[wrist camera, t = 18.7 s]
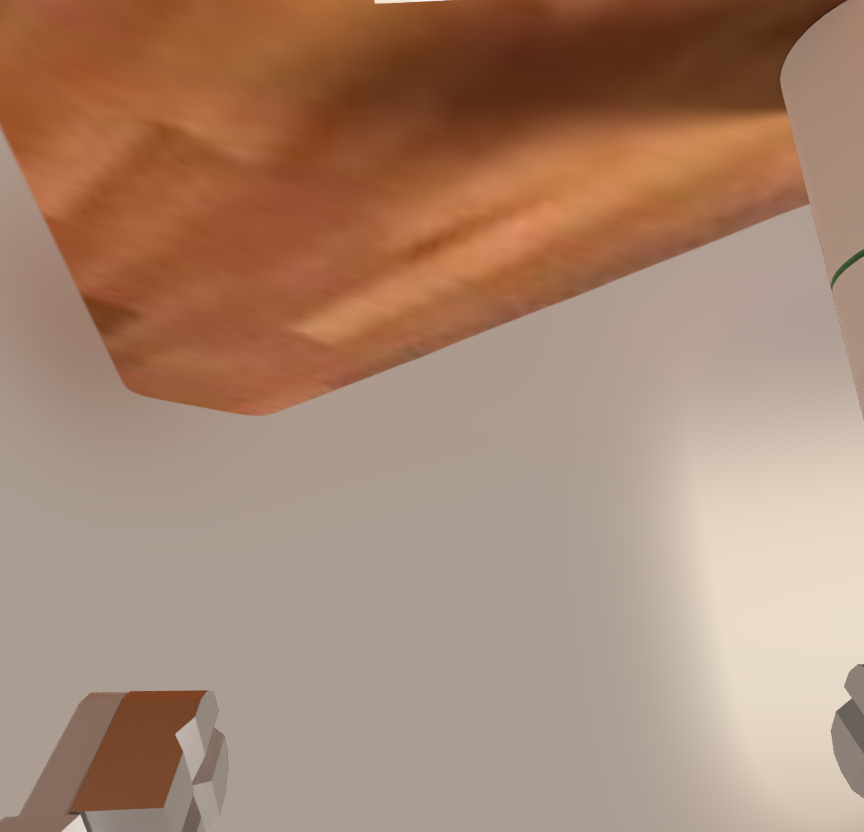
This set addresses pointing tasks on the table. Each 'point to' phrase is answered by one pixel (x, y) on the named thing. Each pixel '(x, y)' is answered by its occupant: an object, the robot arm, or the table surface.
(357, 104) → the table surface
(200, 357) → the table surface
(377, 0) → the block
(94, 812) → the robot arm
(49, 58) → the table surface
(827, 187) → the cylindrical container
